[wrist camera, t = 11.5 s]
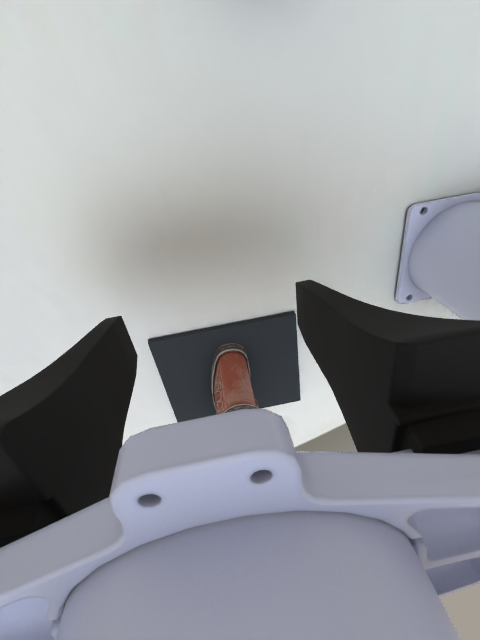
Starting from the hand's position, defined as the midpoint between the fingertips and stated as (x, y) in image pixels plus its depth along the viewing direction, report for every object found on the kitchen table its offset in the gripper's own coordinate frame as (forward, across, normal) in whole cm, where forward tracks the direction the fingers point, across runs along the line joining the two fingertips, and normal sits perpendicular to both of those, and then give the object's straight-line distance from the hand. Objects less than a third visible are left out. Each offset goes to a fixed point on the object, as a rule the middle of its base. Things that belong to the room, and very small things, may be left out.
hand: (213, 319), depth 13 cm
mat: (+10, 0, +12) cm, 16 cm away
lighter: (+10, 0, +13) cm, 16 cm away
